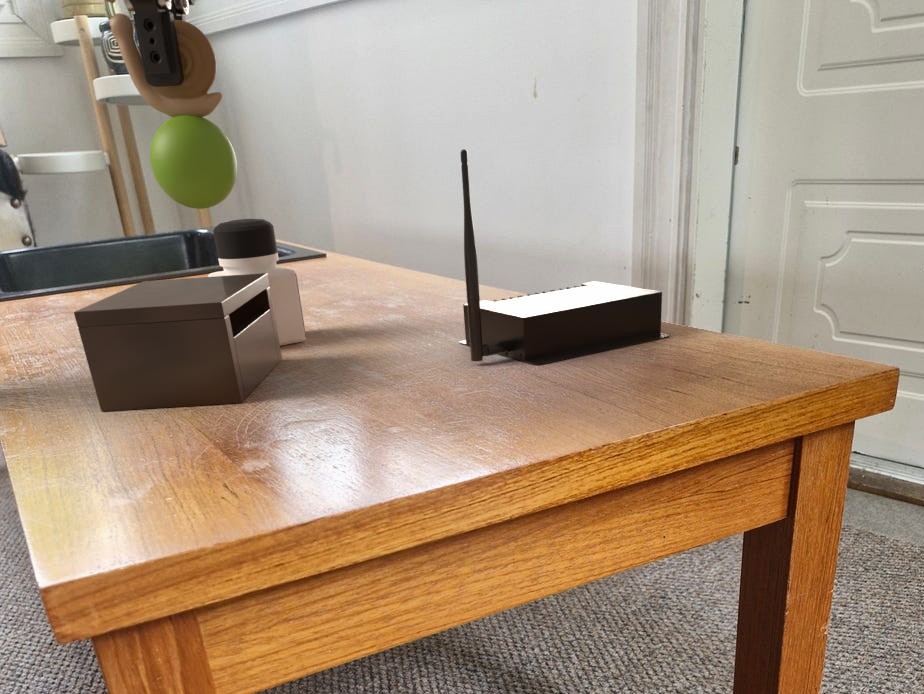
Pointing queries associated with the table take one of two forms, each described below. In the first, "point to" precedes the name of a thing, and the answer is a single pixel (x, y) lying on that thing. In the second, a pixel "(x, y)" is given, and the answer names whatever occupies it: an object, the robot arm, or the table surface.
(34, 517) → the table surface
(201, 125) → the snail figurine
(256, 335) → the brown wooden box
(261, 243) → the medicine bottle
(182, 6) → the robot arm
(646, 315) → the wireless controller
